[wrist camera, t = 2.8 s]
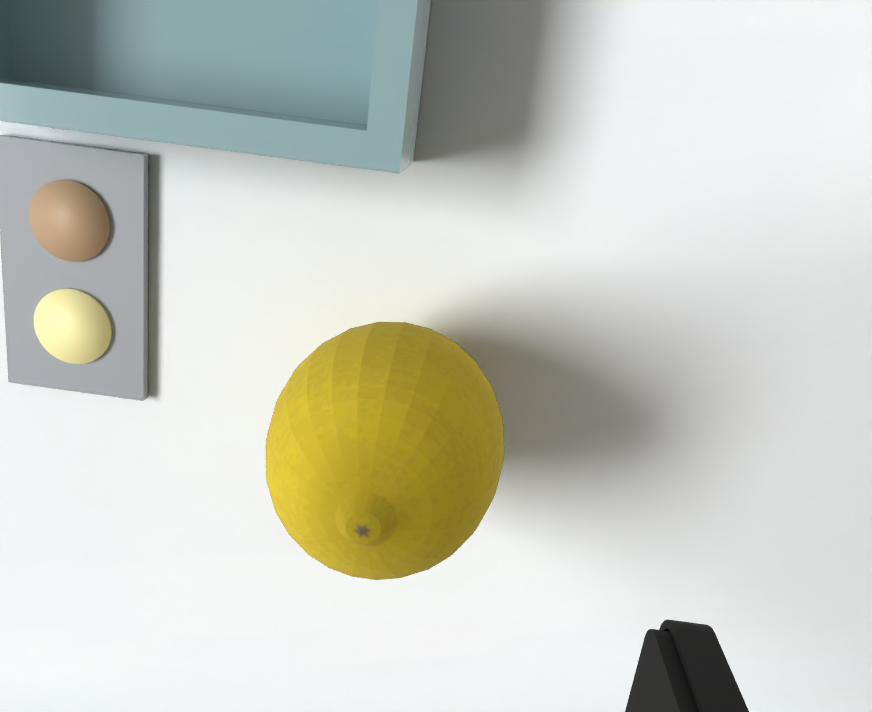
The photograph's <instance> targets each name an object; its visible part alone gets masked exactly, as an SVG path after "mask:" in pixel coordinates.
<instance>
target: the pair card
mask: <svg viewBox="0 0 872 712" xmlns="http://www.w3.org/2000/svg"><path fill="white" fill-rule="evenodd" d="M0 240H1V257H2V275H3V292H4V310H5V327H6V344H7V362H8V379H9V382H11V383H18V384H25V385H33V386H40V387H47V388H54V389H62V390H69V391H76V392H83V393H91V394H98V395H105V396H112V397H120V398H127V399H134V400H141V401H144V400H145V399H146V398H147V397H148V154H142V153H135V152H127V151H120V150H112V149H104V148H97V147H89V146H82V145H74V144H66V143H59V142H51V141H44V140H36V139H29V138H21V137H13V136H6V135H0Z"/></svg>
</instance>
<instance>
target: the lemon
mask: <svg viewBox="0 0 872 712" xmlns="http://www.w3.org/2000/svg"><path fill="white" fill-rule="evenodd" d="M503 460H504V433H503V419H502V416H501V413H500V409H499V406H498V403H497V400H496V397H495V394H494V391H493V388H492V386H491V384H490V383H489V381H488V380H487V378H486V377H485V375H484V373H483V372H482V370H481V369H480V367H479V366H478V364H477V363H476V361H475V360H474V359H473V358H472V357H471V356H469V355H468V354H467V353H466V352H465V351H464V350H463V349H462V348H461V347H460V346H459V345H457V344H456V343H455V342H454V341H452V340H450V339H448V338H446V337H445V336H443V335H441V334H439V333H437V332H435V331H433V330H432V329H428V328H425V327H421V326H417V325H413V324H410V323H406V322H376V323H372V324H368V325H364V326H360V327H355V328H351V329H349V330H347V331H345V332H343V333H341V334H339V335H338V336H336V337H334V338H332V339H330V340H328V341H326V342H324V343H323V344H321V345H320V346H319V347H318V348H317V349H316V350H315V351H314V352H312V353H311V354H310V355H309V356H308V357H307V358H306V359H305V360H304V361H303V362H302V363H301V364H300V365H299V366H298V367H297V368H296V369H295V371H294V372H293V374H292V376H291V377H290V379H289V381H288V382H287V384H286V386H285V387H284V389H283V391H282V392H281V394H280V396H279V398H278V399H277V402H276V405H275V408H274V412H273V415H272V419H271V423H270V426H269V430H268V434H267V439H266V480H267V484H268V488H269V491H270V495H271V498H272V502H273V505H274V508H275V511H276V513H277V515H278V517H279V518H280V520H281V522H282V524H283V525H284V527H285V529H286V530H287V532H288V534H289V535H290V536H291V537H292V538H293V539H294V540H295V541H296V542H297V543H298V544H299V545H300V546H301V547H302V548H303V549H304V551H305V552H306V553H307V554H308V555H310V556H311V557H313V558H314V559H316V560H318V561H319V562H321V563H322V564H324V565H325V566H327V567H328V568H331V569H333V570H336V571H339V572H342V573H344V574H347V575H350V576H353V577H360V578H367V579H373V580H381V579H394V578H402V577H405V576H408V575H411V574H415V573H418V572H421V571H424V570H428V569H430V568H431V567H433V566H435V565H436V564H438V563H440V562H441V561H443V560H445V559H446V558H448V557H450V556H451V555H452V554H453V553H454V552H455V551H456V550H457V549H458V548H459V547H460V546H461V545H462V544H463V543H464V542H465V541H466V540H467V539H468V538H469V537H470V536H471V535H472V534H473V533H474V531H475V530H476V529H477V527H478V525H479V523H480V522H481V520H482V518H483V516H484V515H485V513H486V511H487V509H488V507H489V506H490V504H491V502H492V500H493V498H494V495H495V493H496V489H497V485H498V481H499V477H500V473H501V469H502V465H503Z"/></svg>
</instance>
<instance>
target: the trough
mask: <svg viewBox="0 0 872 712" xmlns="http://www.w3.org/2000/svg"><path fill="white" fill-rule="evenodd" d="M430 7H431V0H0V121H6V122H13V123H21V124H29V125H36V126H44V127H51V128H59V129H67V130H74V131H82V132H89V133H97V134H105V135H112V136H120V137H127V138H135V139H142V140H150V141H158V142H165V143H173V144H180V145H188V146H196V147H203V148H211V149H218V150H226V151H234V152H241V153H249V154H256V155H264V156H272V157H279V158H287V159H294V160H302V161H310V162H317V163H325V164H332V165H340V166H348V167H355V168H363V169H370V170H378V171H386V172H393V173H400V172H402V171H403V170H404V169H405V168H406V167H408V166H409V165H410V164H411V163H413V160H414V151H415V142H416V133H417V124H418V115H419V106H420V97H421V88H422V79H423V70H424V61H425V52H426V43H427V34H428V25H429V16H430Z"/></svg>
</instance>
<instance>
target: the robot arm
mask: <svg viewBox="0 0 872 712" xmlns="http://www.w3.org/2000/svg"><path fill="white" fill-rule="evenodd" d="M625 712H749V711H748V708H747V706H746V704H745V701H744V699H743V697H742V695H741V692H740V690H739V688H738V685H737V683H736V681H735V678H734V676H733V674H732V672H731V669H730V667H729V665H728V662H727V660H726V658H725V655H724V653H723V651H722V649H721V646H720V644H719V642H718V639H717V637H716V635H715V633H714V631H713V629H712V628H711V627H710V626H708V625H704V624H696V623H689V622H681V621H674V620H665V621H664V622H663V623H662V624H661V627H660V629H659V630H654V629H650V630H648V631H647V633H646V636H645V638H644V642H643V646H642V650H641V654H640V657H639V661H638V665H637V669H636V673H635V676H634V680H633V684H632V688H631V692H630V695H629V699H628V703H627V707H626V711H625Z"/></svg>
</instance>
